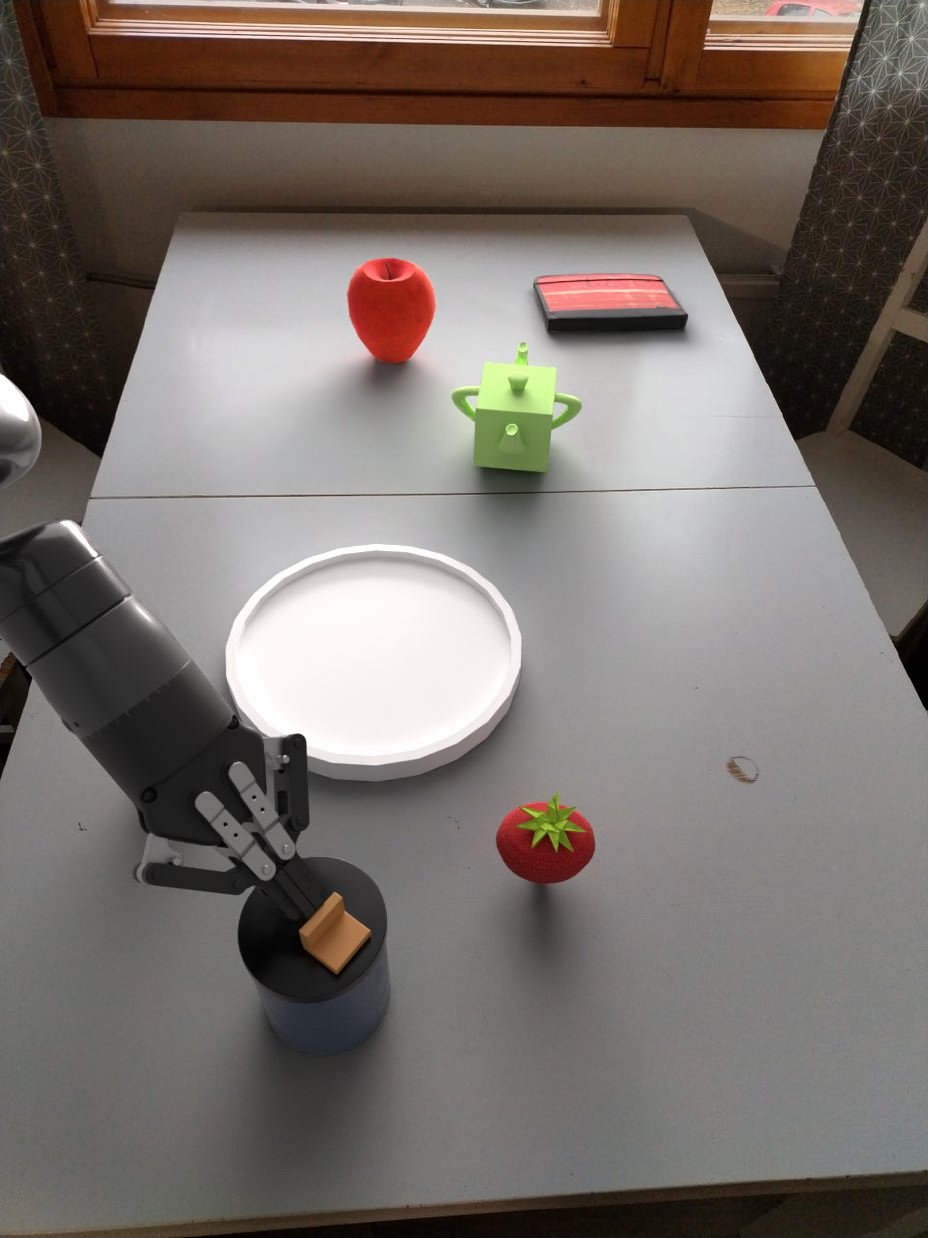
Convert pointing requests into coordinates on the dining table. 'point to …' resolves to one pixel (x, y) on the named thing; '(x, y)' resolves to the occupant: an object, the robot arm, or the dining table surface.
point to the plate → (375, 660)
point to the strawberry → (545, 841)
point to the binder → (607, 302)
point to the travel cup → (319, 966)
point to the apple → (391, 307)
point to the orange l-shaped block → (333, 934)
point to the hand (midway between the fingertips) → (310, 911)
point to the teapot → (515, 413)
